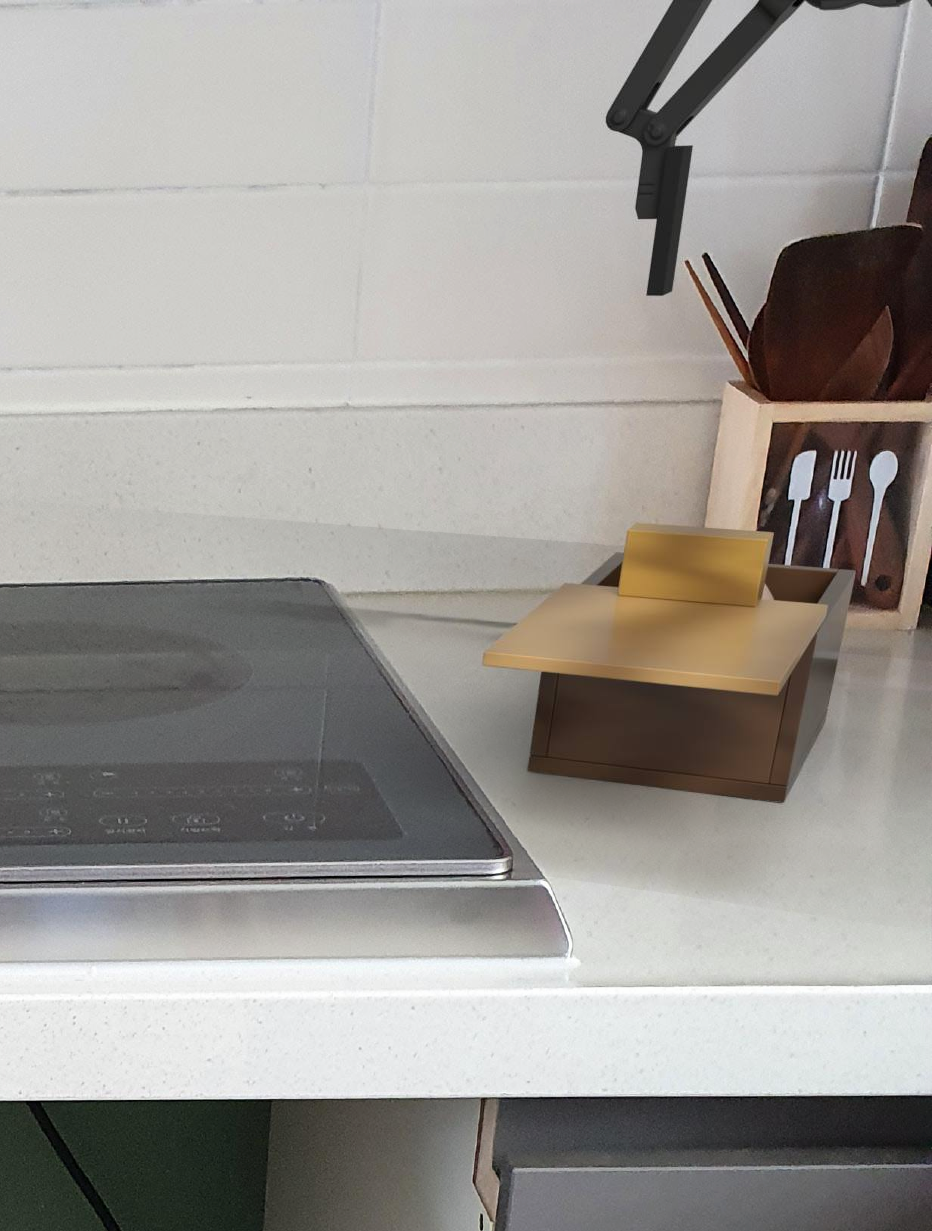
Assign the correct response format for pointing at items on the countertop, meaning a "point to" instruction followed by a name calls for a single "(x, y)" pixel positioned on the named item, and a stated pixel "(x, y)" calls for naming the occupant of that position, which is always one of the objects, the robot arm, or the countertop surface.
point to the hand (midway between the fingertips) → (810, 295)
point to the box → (696, 712)
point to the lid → (671, 617)
